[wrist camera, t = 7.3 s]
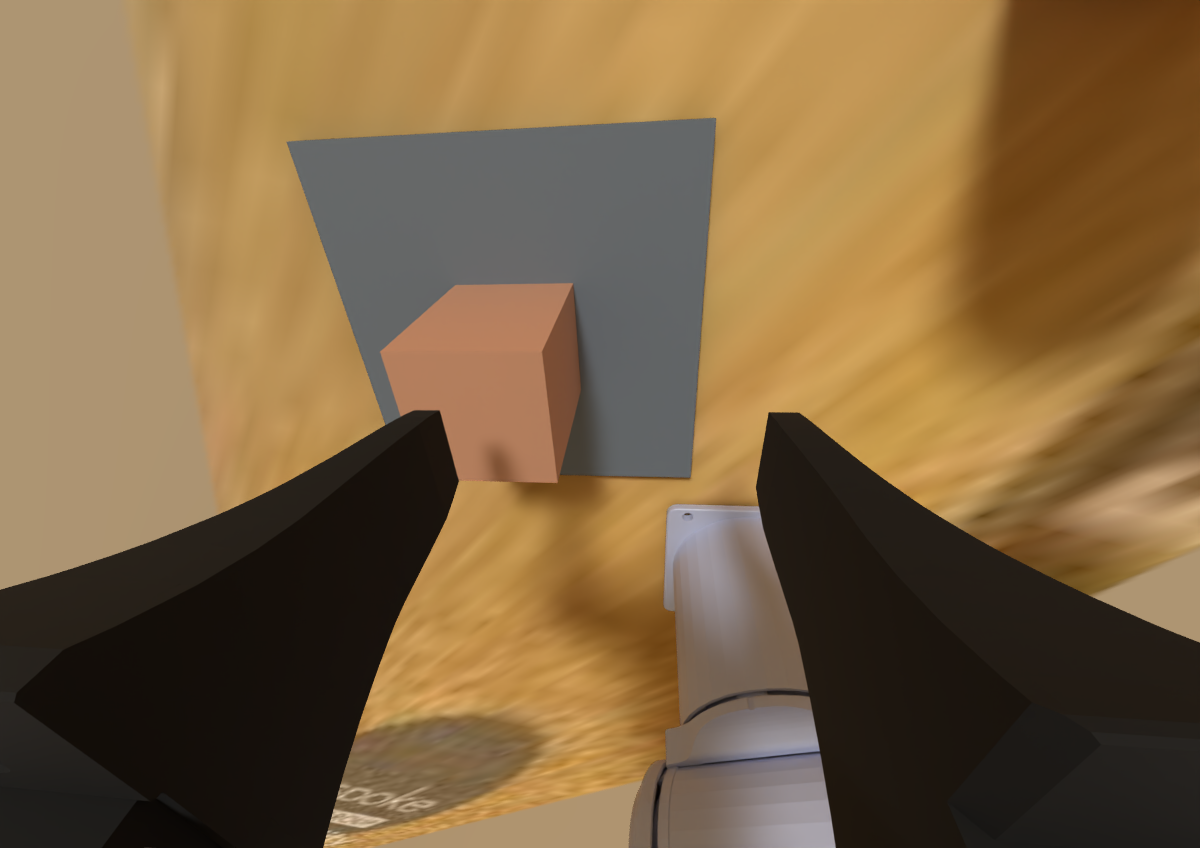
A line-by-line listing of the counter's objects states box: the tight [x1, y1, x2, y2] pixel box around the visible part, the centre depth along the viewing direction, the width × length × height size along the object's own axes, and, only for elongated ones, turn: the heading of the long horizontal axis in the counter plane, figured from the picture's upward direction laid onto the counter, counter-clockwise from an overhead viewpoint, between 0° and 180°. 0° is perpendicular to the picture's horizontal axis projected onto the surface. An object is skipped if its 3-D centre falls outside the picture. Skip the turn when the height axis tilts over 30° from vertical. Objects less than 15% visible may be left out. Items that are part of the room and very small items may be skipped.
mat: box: [287, 118, 716, 478], centre depth 19 cm, size 14×14×1 cm
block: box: [380, 283, 581, 483], centre depth 17 cm, size 4×4×6 cm
